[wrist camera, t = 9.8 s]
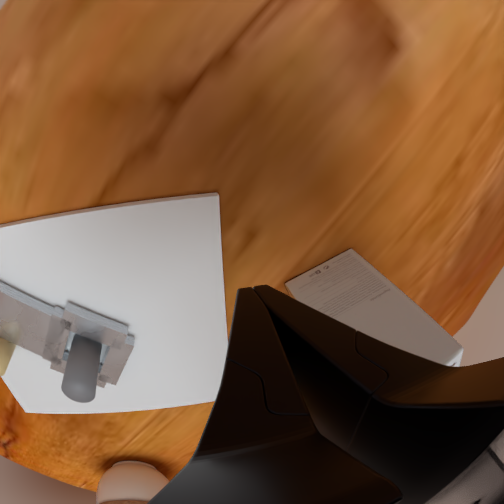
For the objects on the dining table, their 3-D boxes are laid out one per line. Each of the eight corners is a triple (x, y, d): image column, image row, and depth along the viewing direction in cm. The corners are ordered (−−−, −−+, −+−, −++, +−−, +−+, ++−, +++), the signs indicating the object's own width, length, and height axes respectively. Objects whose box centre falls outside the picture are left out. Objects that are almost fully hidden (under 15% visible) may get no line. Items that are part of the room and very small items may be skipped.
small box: (281, 282, 24) (371, 414, 13) (351, 245, 24) (467, 345, 13) (307, 346, 28) (377, 458, 17) (365, 314, 28) (449, 409, 17)
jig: (230, 391, 28) (245, 440, 23) (27, 406, 23) (17, 450, 18) (216, 192, 20) (237, 222, 15) (-56, 237, 14) (-95, 273, 9)
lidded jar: (187, 462, 32) (201, 524, 24) (155, 488, 35) (164, 540, 26) (107, 444, 28) (109, 514, 19) (87, 473, 30) (88, 529, 22)
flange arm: (138, 329, 21) (137, 387, 16) (113, 382, 23) (111, 436, 18) (-29, 253, 15) (-67, 294, 10) (-33, 317, 16) (-60, 362, 12)
